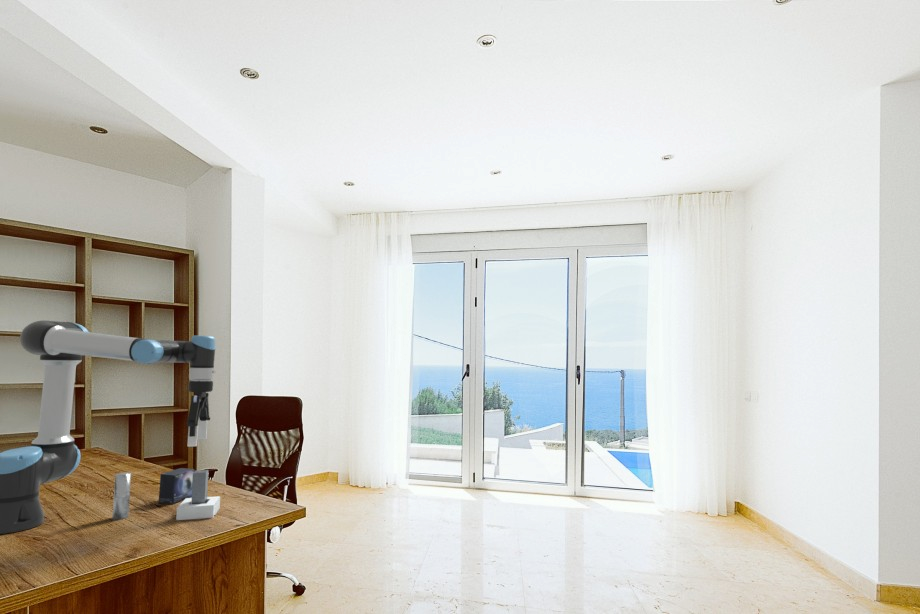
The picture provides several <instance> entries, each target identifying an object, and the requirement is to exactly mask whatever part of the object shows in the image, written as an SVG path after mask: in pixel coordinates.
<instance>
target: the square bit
mask: <svg viewBox="0 0 920 614" xmlns="http://www.w3.org/2000/svg"><path fill="white" fill-rule="evenodd" d="M208 488H209V469H202V470H201V469H199V470H197V469H196V470H194V473H193V482H192V497H191V498H192V502H191V504H205V503H207V497H208V492H209V491H208V490H209V489H208Z"/></svg>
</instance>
